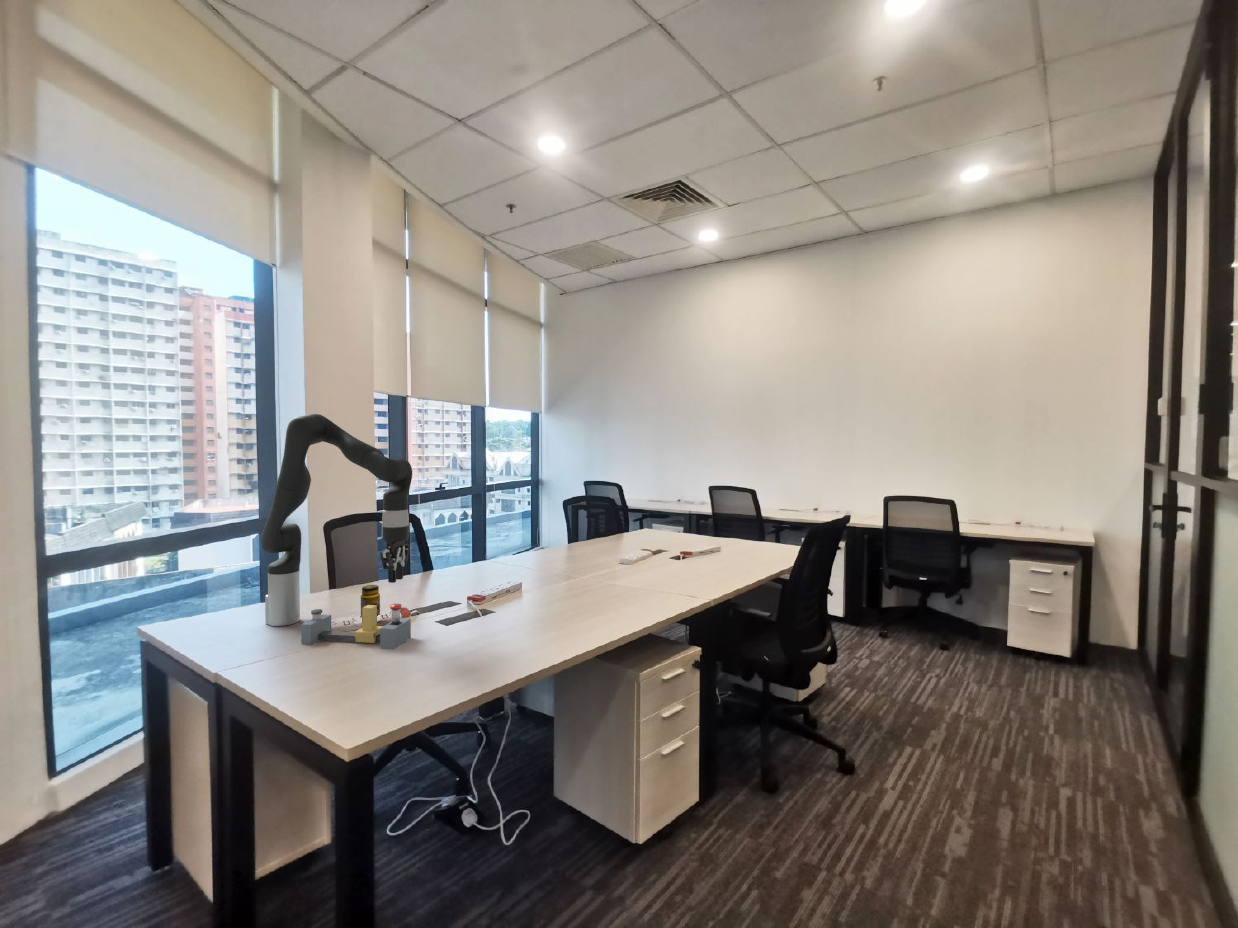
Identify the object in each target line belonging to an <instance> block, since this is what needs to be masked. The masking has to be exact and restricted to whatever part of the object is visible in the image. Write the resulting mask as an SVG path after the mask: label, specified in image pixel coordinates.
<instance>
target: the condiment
mask: <svg viewBox="0 0 1238 928" xmlns="http://www.w3.org/2000/svg"><path fill="white" fill-rule="evenodd" d="M379 588H380V587H379V585H377V584H368V585H364V586H363V587H362V588H361V595H360V618H361V617H362V608H363V607H365V606H367V605H377V616H378V615H380V616H381V594H380V592H379V590H380V589H379Z"/></svg>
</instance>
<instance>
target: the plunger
mask: <svg viewBox="0 0 1238 928" xmlns="http://www.w3.org/2000/svg"><path fill="white" fill-rule="evenodd" d="M389 608H390V610H391V622H392V625H399V624H400V618H401V609H402V604H401V603H392V604H390V605H389Z"/></svg>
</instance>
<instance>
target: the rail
mask: <svg viewBox="0 0 1238 928" xmlns="http://www.w3.org/2000/svg"><path fill="white" fill-rule="evenodd" d="M318 641H325V642H339V643H341V642H343V643H357V644H358V643H359V644H361V643H362V644H368V643H367V642H356V637H355V631H354V632H352V631H338V630H337V631H335V630H331V631H323V632H321V633H319V634H318ZM373 644H376V645H377V644H379V645H380V634H379V635H377V636H376V642H375V643H373Z"/></svg>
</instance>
